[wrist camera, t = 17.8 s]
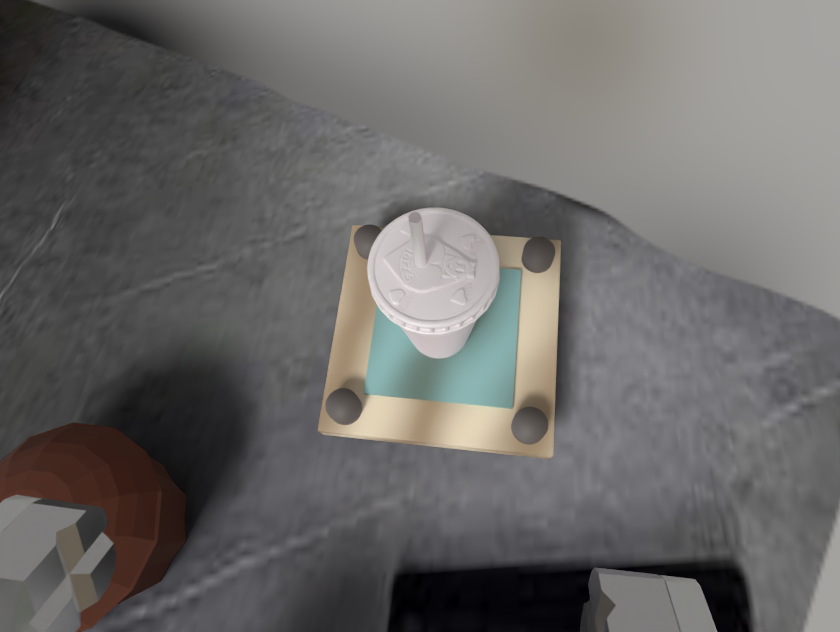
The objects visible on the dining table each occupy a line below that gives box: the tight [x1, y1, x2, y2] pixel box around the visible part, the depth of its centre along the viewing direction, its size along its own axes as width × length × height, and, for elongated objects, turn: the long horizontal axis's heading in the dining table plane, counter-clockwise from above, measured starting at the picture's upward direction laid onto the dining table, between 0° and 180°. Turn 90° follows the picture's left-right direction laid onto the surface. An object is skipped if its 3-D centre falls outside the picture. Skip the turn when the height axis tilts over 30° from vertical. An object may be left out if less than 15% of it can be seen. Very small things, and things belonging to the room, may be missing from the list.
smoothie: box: [367, 208, 500, 359], centre depth 30 cm, size 6×6×14 cm
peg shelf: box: [318, 225, 561, 459], centre depth 39 cm, size 14×14×6 cm
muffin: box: [0, 423, 187, 632], centre depth 34 cm, size 12×11×10 cm
